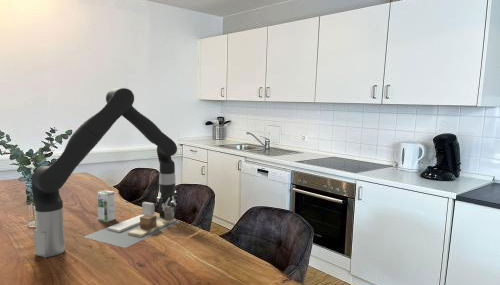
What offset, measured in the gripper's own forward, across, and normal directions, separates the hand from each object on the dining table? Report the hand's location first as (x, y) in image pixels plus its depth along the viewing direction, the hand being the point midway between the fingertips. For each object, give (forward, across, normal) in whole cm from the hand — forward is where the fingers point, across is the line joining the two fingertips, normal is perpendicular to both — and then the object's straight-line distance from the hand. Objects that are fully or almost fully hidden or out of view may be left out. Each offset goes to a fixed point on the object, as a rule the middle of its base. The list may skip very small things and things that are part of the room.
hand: (167, 215), depth 177 cm
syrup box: (+4, -12, +27) cm, 30 cm away
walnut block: (+2, -14, 0) cm, 14 cm away
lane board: (+3, -16, +6) cm, 17 cm away
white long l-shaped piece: (+3, -10, +12) cm, 16 cm away
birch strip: (+3, -10, 0) cm, 11 cm away
